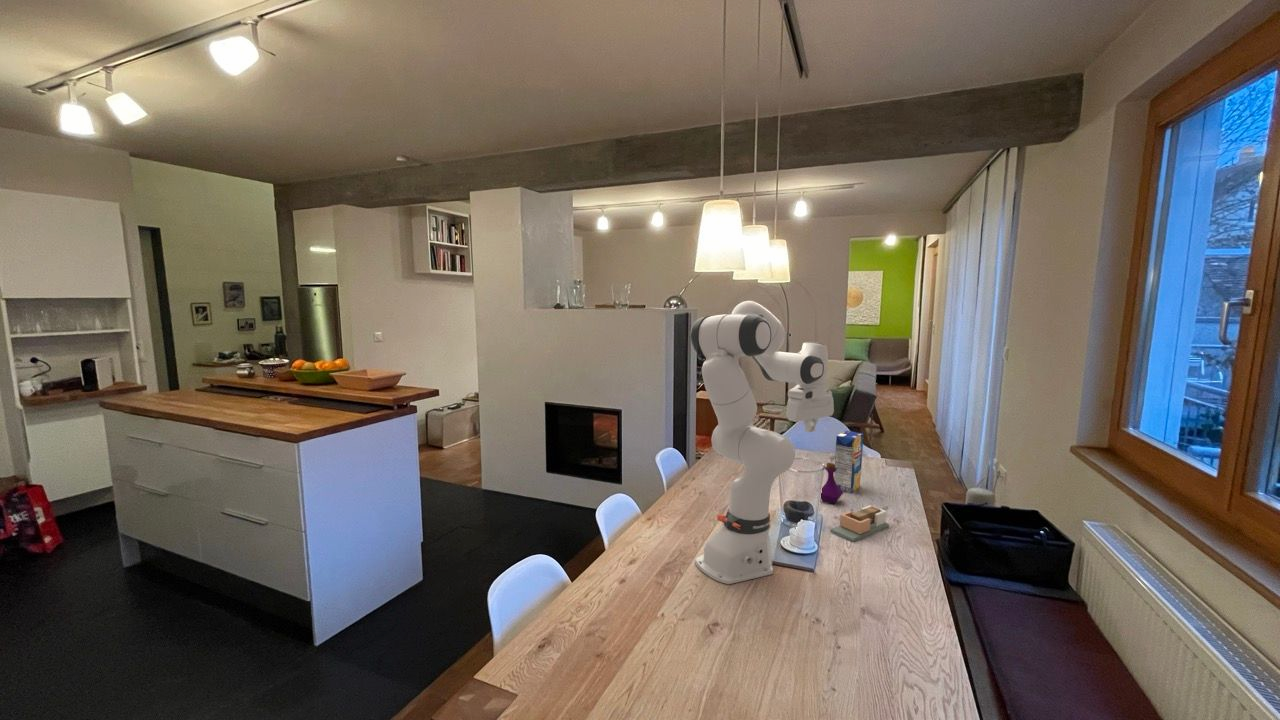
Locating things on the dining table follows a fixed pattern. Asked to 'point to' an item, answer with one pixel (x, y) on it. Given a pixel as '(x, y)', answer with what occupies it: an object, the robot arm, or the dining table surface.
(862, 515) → the brown rectangular block
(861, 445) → the beverage box
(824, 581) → the dining table surface
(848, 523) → the cap
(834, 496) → the perfume bottle
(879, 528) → the grey slotted holder
